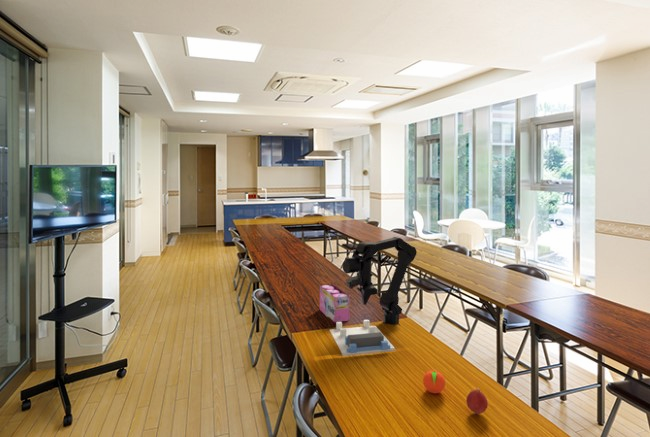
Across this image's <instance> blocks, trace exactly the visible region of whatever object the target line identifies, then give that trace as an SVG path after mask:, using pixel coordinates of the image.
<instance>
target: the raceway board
mask: <svg viewBox="0 0 650 437" xmlns="http://www.w3.org/2000/svg"><path fill="white" fill-rule="evenodd" d="M362 322H363V326H357V327H343V321H342V322H335V324H336V325H335V328H334V329H333V328H332V329H329V332H330V333H331V335H332V338H333V340H334V341H335V343H336V345H337V346H338V348H339V350H340V352H341V353H340V355H341V356H342V357H347V356H348V357H349V356H355V355H356V356H357V355H369V354H376V353H377V354H378V353H388V352H395V351H396V347H394V345H393V344H392V343H391V342H390V340H389V339H387V337H386V336H385V335H384V334H383V333H382V331H381V330H380V329H379V328H378V327H377V326H376V325H370V324H371V323H370V320H369V319H363V321H362ZM378 332H381V334H382V335H383V336H384V341H381V346H370V347H360V348H357V345H356V343H354V344H350V348H349V347H348V335H356V334H367V333H378Z"/></svg>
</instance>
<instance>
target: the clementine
mask: <svg viewBox="0 0 650 437" xmlns="http://www.w3.org/2000/svg"><path fill="white" fill-rule="evenodd" d="M422 383H423V386H424V388H425V390H426V391H427V392H429V393H431V394H439V393H441V392H443V390H445V386H446V380H445V376H443V373H442V372H439V371H437V370H434V369H433V370H432V369H431V370H429V371H427V372H426V373H425V374H424V375H423V379H422Z"/></svg>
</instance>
